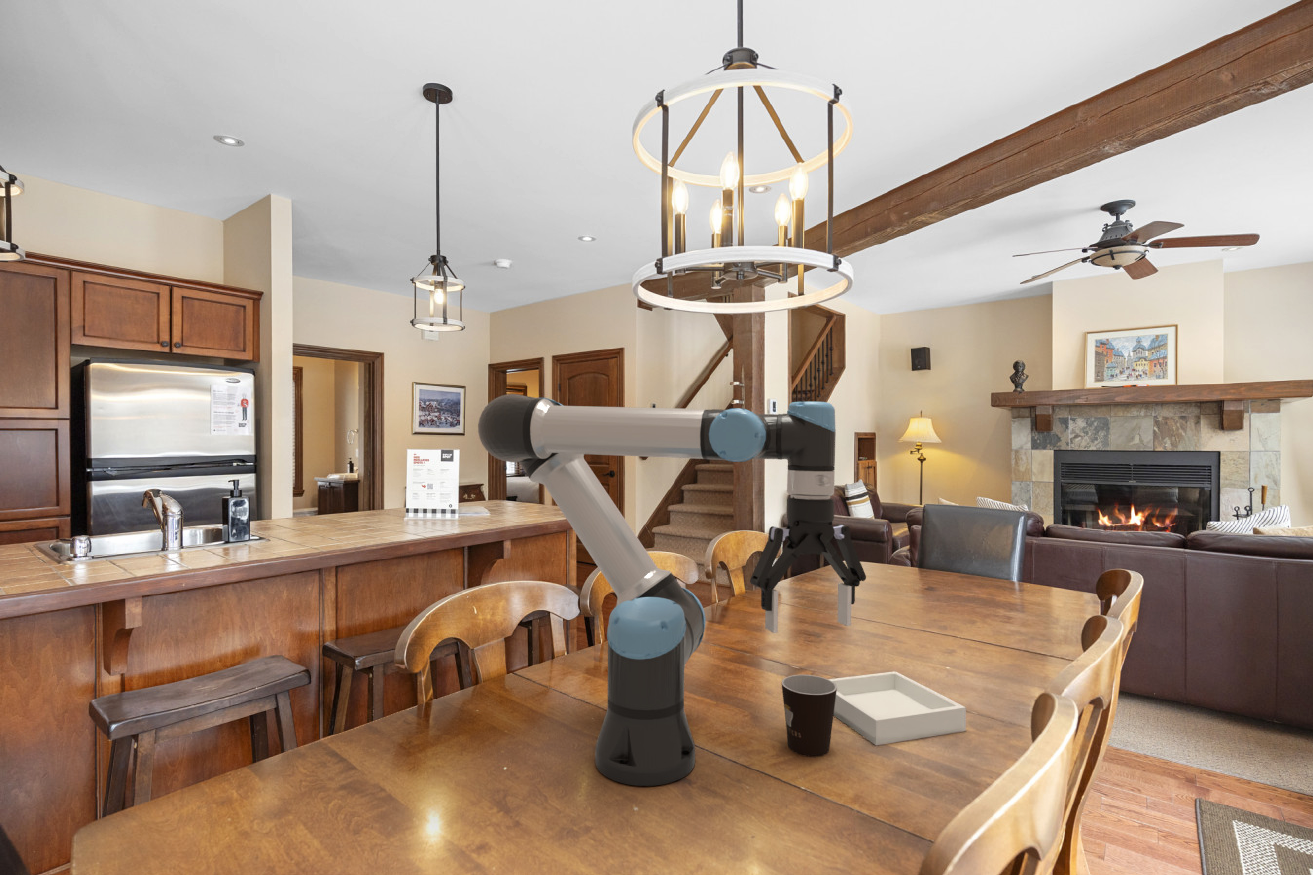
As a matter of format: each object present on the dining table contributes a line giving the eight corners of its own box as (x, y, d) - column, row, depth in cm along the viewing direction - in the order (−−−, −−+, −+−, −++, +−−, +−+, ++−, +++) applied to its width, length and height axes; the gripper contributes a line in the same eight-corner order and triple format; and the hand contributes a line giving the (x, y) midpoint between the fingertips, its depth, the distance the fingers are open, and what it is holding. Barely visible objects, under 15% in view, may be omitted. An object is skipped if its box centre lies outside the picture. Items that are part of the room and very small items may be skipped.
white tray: (876, 745, 104) (876, 720, 104) (815, 702, 121) (815, 680, 121) (965, 730, 109) (965, 707, 109) (895, 691, 126) (895, 671, 127)
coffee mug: (838, 763, 98) (838, 697, 98) (780, 756, 100) (781, 691, 100) (833, 729, 109) (833, 670, 109) (781, 724, 111) (781, 666, 111)
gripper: (752, 499, 98) (750, 640, 97) (889, 497, 106) (887, 627, 105) (730, 495, 105) (728, 626, 104) (860, 494, 113) (859, 615, 113)
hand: (808, 627), depth 105 cm, fingers open, 13 cm apart
